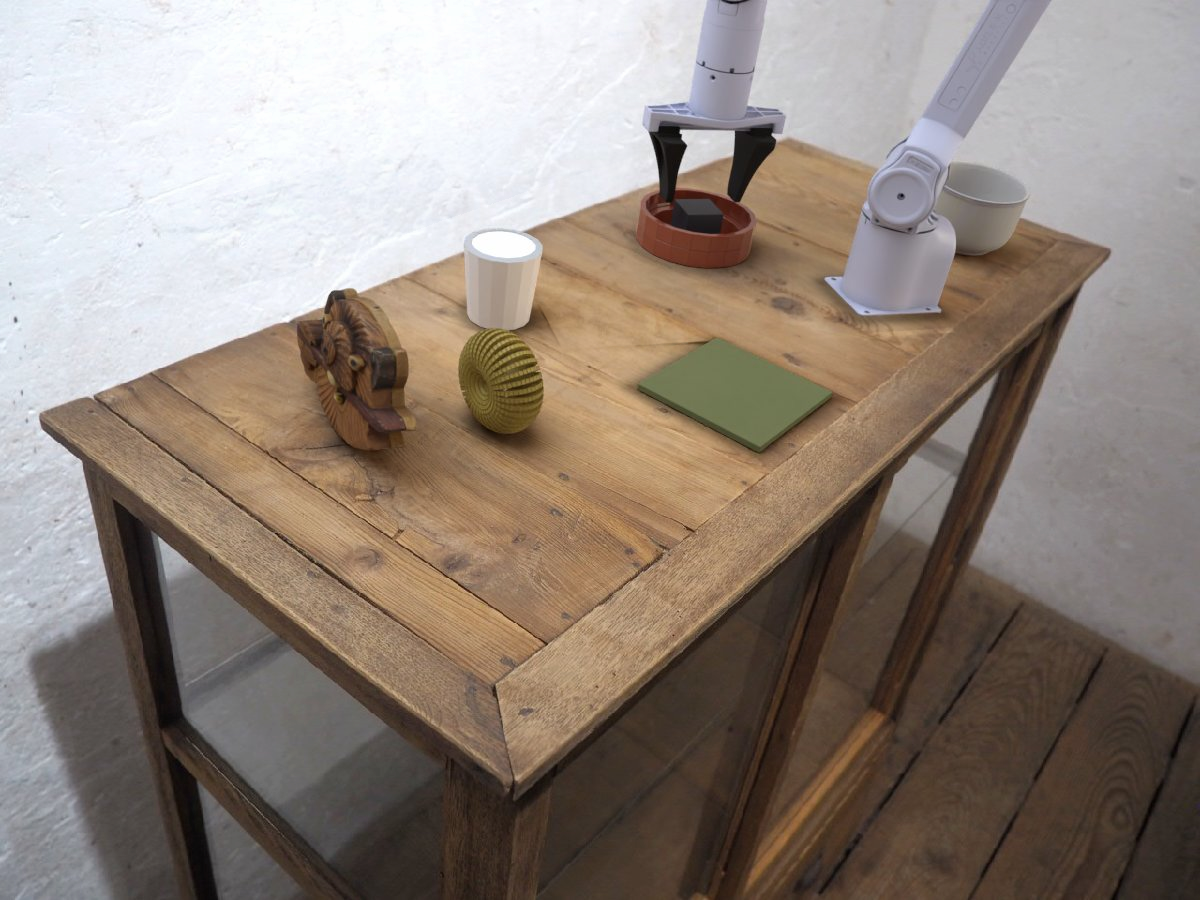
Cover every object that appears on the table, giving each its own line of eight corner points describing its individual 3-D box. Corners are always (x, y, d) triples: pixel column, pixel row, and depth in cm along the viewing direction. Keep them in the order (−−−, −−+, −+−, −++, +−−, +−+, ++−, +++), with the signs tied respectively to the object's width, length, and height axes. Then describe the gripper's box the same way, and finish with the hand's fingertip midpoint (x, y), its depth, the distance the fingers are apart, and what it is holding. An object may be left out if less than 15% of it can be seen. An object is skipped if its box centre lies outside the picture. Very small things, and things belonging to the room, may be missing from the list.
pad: (715, 342, 95) (716, 336, 95) (831, 397, 90) (833, 391, 89) (636, 389, 87) (637, 383, 87) (758, 453, 82) (760, 446, 81)
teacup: (1017, 245, 123) (1041, 180, 118) (992, 275, 115) (1018, 206, 110) (904, 209, 128) (923, 145, 124) (873, 235, 120) (893, 167, 116)
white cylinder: (525, 340, 91) (532, 267, 87) (450, 324, 92) (453, 251, 88) (544, 305, 97) (551, 235, 93) (473, 291, 98) (477, 221, 94)
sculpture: (446, 407, 82) (449, 316, 77) (488, 393, 84) (494, 304, 79) (506, 460, 77) (513, 367, 72) (549, 444, 79) (559, 352, 75)
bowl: (722, 221, 118) (728, 187, 116) (767, 270, 109) (775, 235, 107) (620, 223, 115) (624, 188, 112) (657, 274, 105) (664, 237, 103)
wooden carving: (276, 381, 82) (267, 264, 76) (330, 367, 84) (326, 253, 79) (378, 496, 72) (377, 372, 66) (436, 477, 74) (440, 355, 69)
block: (702, 233, 114) (709, 198, 111) (717, 249, 111) (724, 214, 108) (668, 234, 112) (674, 198, 110) (681, 250, 109) (688, 214, 107)
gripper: (775, 55, 106) (747, 183, 114) (641, 49, 102) (622, 183, 109) (806, 77, 101) (775, 210, 109) (666, 72, 96) (644, 211, 104)
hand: (700, 198), depth 109 cm, fingers open, 7 cm apart
